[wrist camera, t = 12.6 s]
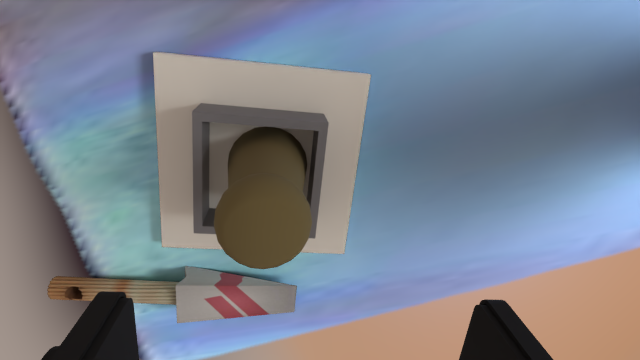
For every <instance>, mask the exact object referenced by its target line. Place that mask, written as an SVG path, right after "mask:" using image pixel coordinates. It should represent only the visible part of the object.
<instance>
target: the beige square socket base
mask: <svg viewBox="0 0 640 360" xmlns="http://www.w3.org/2000/svg"><path fill="white" fill-rule="evenodd" d="M153 63H154V85H155V107H156V128H157V150H158V172H159V193H160V215H161V237H162V247H174V248H201V249H222V247H221V246H220V244H219V243H218V240H217V236H216V232H215V228H214V217H215V210H216V207H217V205H218V203H219V201H220V199H221V197H222V195H223V193H224V192H225V191H226V190H227V189H228V158H229V152H230V150H231V148H232V146H233V144H234V142H235V141H236V140H237V139H238V138H239V137H240V136H241V135H242V134H243V133H245V132H247V131H249V130H252V129H254V128H258V127H275V128H281V129H283V130H285V131H287V132H289V133H290V134H292V135H293V136H294V137H295V138H296V139H297V140H298V141H299V142H300V143H301V145H302V147H303V149H304V151H305V153H306V159H307V170H306V176H305V181H304V187H303V194H304V196H305V197H306V199H307V201H308V203H309V206H310V211H311V218H312V226H311V231H310V236H309V239H308V241H307V243H306V244H305V246H304V248H303V249H302V251H301V252H306V253H333V254H344V252H345V245H346V238H347V231H348V225H349V218H350V211H351V205H352V198H353V191H354V185H355V178H356V171H357V165H358V158H359V151H360V145H361V138H362V131H363V125H364V118H365V111H366V105H367V98H368V91H369V85H370V78H371V75H370V74H368V73H360V72H350V71H340V70H331V69H321V68H311V67H302V66H292V65H282V64H272V63H263V62H253V61H243V60H233V59H224V58H214V57H204V56H195V55H185V54H175V53H165V52H153Z"/></svg>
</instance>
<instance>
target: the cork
mask: <svg viewBox="0 0 640 360" xmlns="http://www.w3.org/2000/svg"><path fill="white" fill-rule="evenodd" d="M306 170H307V159H306V153H305V151H304V149H303V147H302V145H301V143H300V142H299V141H298V140H297V139H296V138H295V137H294V136H293V135H292V134H290V133H289V132H287V131H285V130H283V129H281V128H275V127H258V128H254V129H252V130H249V131H247V132H245V133H243V134H242V135H241V136H240V137H239V138H238V139H237V140H236V141H235V142H234V144H233V146H232V148H231V150H230V152H229V158H228V189H227V190H226V191H225V192H224V193H223V195H222V197H221V199H220V201H219V203H218V205H217V207H216V210H215V217H214V228H215V232H216V236H217V240H218V243H219V244H220V246H221V247H222V249H223V250H224V252H225V253H226V254H227V255H229V256H230V257H231V258H232V259H234V260H235V261H236V262H238V263H240V264H242V265H245V266H247V267H250V268H258V269H268V268H274V267H278V266H280V265H282V264H284V263H286V262H289V261H291V260H292V259H293V258H294V257H295V256H296V255H298V254H299V253H300V252H301V251H302V249H303V248H304V246H305V244H306V243H307V241H308V239H309V236H310V231H311V226H312V218H311V211H310V206H309V203H308V201H307V199H306V197H305V196H304V194H303V187H304V181H305V176H306Z"/></svg>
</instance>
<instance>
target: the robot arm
mask: <svg viewBox="0 0 640 360" xmlns="http://www.w3.org/2000/svg"><path fill="white" fill-rule="evenodd" d="M42 360H139V355H138V345H137V335H136V325H135V315H134V305H133V300H132V298H126V294H125V292H108V291H101V292H99V293H98V294H97V295H96V296H95V297H94V299H93V300H92V302H91V303H90V304H89V306H88V307H87V309H86V310H85V312H84V313H83V314H82V316H81V317H80V318H79V320H78V321H77V323H76V324H75V326H74V327H73V328H72V330H71V331H70V333H69V334H68V335H67V337H66V338H65V340H64V341H63V342H62V344H61V345H60V346H55V347H53V348H51V349H50V350H49V351H48V352H47V353H46V354H45V355H44V357H43V358H42ZM459 360H553V359H552V358H551V356H550V355H549V354H548V353H547V351H546V350H545V349H544V348H543V347H542V345H541V344H540V343H539V342H538V340H537V339H536V338H535V337H534V336H533V334H532V333H531V332H530V331H529V329H528V328H527V327H526V326H525V324H524V323H523V322H522V321H521V319H520V318H519V317H518V316H517V315H516V313H515V312H514V311H513V310H512V308H511V307H510V306H509V305H508V304H507V303H506V302H505V301H503V300H482V301H481V302H480V304H479V305H476V306H475V308H474V311H473V314H472V317H471V321H470V324H469V328H468V331H467V334H466V338H465V341H464V345H463V348H462V352H461V355H460V358H459Z"/></svg>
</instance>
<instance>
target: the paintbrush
mask: <svg viewBox="0 0 640 360" xmlns="http://www.w3.org/2000/svg"><path fill="white" fill-rule="evenodd" d="M48 287H49V288H48V296H49V297H50V299H60V300H61V299H62V300H83V301H84V300H85V301H92V300H93V299H94V297H95V296H96V295H97V294H98V293H99V292H101V291H108V292H125V294H126V298H132V300H133V303H154V304H174V305H176V307H177V323H185V322H195V321H205V320H216V319H226V318H236V317H246V316H257V315H267V314H277V313H287V312H294V310H295V299H296V289H297V286H295V285H289V284H284V283H278V282H273V281H268V280H262V279H257V278H251V277H246V276H240V275H235V274H230V273H224V272H219V271H213V270H208V269H203V268H197V267H188V266H185V278H184V279H183V280H181V281H180V282H167V281H145V280H125V279H104V278H82V277H61V276H56V277H54V278H53V279H52V281H50V284H49V286H48Z"/></svg>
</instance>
